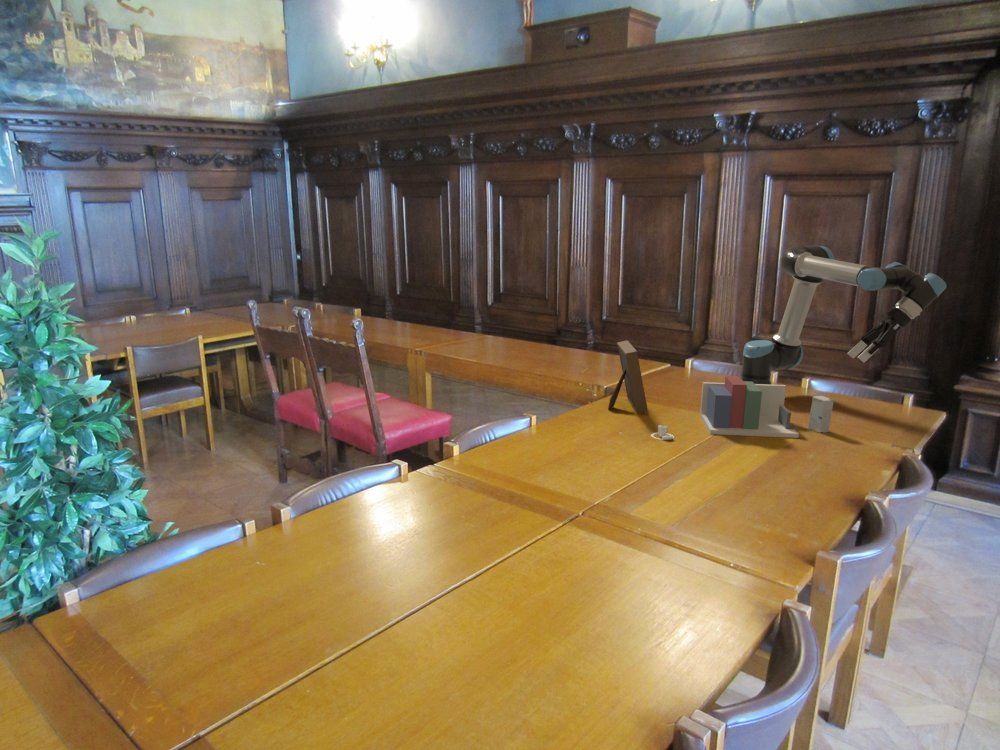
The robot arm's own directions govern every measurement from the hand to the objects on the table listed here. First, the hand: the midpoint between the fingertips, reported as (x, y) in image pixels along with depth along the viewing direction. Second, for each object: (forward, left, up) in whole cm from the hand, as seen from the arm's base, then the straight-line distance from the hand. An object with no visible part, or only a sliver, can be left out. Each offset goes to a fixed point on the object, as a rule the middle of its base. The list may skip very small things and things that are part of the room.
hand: (855, 358), depth 236 cm
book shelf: (+2, -35, -27) cm, 44 cm away
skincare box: (+2, -10, -27) cm, 29 cm away
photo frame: (-20, -78, -27) cm, 85 cm away
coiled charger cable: (+19, -69, -27) cm, 76 cm away
